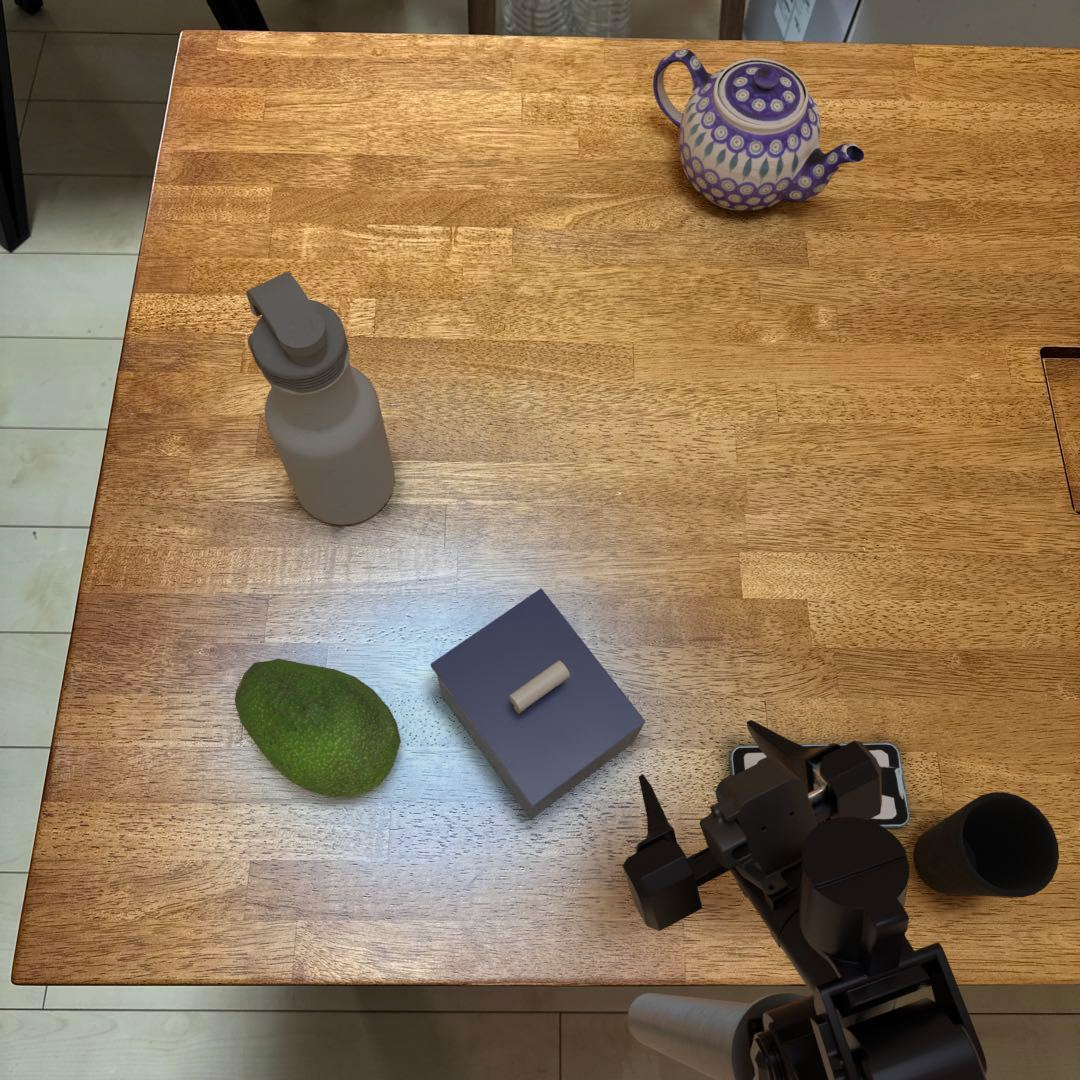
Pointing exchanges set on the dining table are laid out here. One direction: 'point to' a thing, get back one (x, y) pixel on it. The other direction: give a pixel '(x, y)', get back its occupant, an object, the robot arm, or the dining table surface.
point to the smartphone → (891, 778)
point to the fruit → (318, 726)
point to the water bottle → (319, 406)
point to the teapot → (750, 134)
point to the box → (506, 778)
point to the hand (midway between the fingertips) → (695, 751)
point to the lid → (537, 696)
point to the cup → (989, 849)
